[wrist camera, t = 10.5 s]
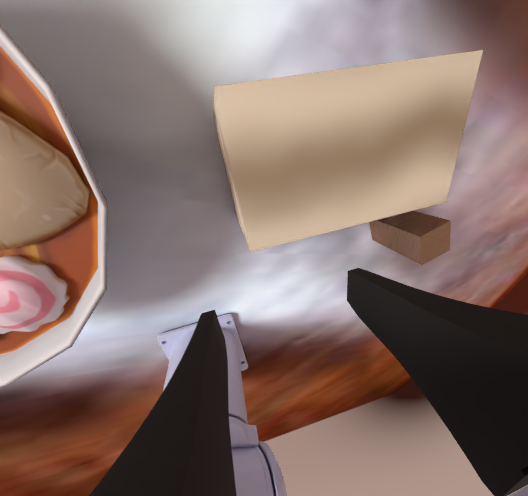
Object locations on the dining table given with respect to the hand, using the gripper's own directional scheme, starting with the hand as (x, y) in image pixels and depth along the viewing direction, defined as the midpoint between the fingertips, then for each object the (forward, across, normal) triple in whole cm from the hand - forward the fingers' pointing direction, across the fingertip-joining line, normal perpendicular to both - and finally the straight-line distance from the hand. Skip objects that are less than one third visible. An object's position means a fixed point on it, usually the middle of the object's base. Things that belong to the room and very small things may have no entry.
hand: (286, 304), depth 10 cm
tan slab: (+10, -6, -6) cm, 13 cm away
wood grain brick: (+10, -13, -2) cm, 17 cm away
